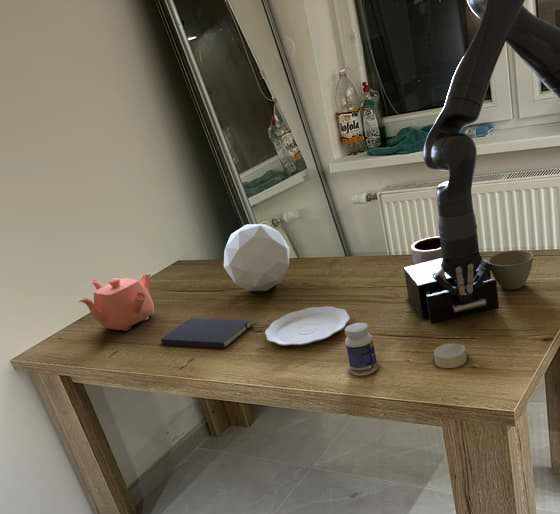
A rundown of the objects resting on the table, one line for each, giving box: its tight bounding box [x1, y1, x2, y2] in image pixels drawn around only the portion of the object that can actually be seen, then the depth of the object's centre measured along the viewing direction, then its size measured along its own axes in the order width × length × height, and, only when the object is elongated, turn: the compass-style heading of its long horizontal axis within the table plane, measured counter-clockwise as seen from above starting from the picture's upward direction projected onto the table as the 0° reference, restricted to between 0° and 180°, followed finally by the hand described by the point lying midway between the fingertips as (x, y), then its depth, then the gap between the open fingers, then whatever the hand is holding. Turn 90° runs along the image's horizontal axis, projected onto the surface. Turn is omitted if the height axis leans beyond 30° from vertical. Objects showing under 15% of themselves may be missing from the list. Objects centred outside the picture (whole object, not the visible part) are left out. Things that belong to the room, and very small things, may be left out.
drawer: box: [422, 275, 500, 325], centre depth 154 cm, size 17×15×7 cm
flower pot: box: [488, 249, 534, 291], centre depth 161 cm, size 10×10×7 cm
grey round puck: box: [433, 343, 467, 369], centre depth 137 cm, size 6×6×2 cm
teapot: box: [77, 273, 155, 332], centre depth 199 cm, size 18×18×14 cm
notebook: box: [160, 317, 252, 349], centre depth 179 cm, size 13×2×21 cm
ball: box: [223, 223, 290, 292], centre depth 198 cm, size 19×20×20 cm
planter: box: [410, 236, 442, 265], centre depth 175 cm, size 11×11×10 cm
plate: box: [264, 305, 351, 346], centre depth 167 cm, size 21×21×2 cm
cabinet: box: [403, 258, 492, 321], centre depth 161 cm, size 14×17×9 cm
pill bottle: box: [344, 322, 378, 377], centre depth 141 cm, size 6×6×10 cm
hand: (466, 308), depth 149 cm, fingers closed
